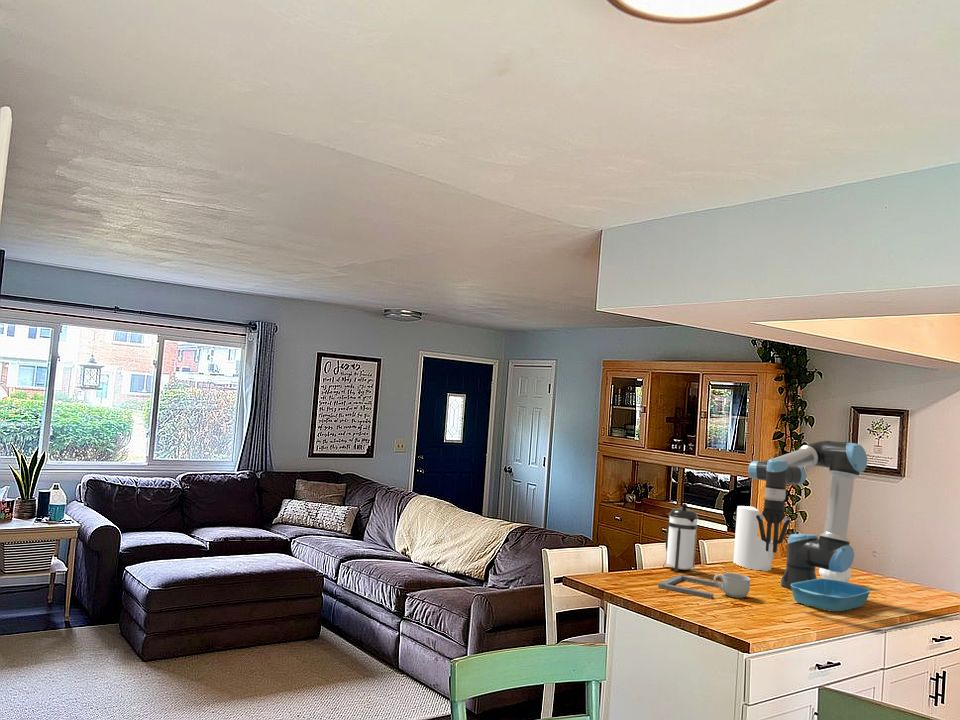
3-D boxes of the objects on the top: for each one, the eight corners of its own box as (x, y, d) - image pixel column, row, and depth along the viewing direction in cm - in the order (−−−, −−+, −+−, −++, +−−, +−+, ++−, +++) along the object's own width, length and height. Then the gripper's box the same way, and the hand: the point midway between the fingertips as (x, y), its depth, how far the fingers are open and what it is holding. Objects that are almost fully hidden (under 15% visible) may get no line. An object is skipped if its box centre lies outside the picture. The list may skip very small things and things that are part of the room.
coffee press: (701, 570, 356) (706, 504, 357) (690, 575, 342) (695, 506, 344) (664, 563, 365) (669, 499, 367) (652, 568, 351) (657, 501, 353)
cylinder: (736, 568, 370) (740, 508, 372) (730, 561, 387) (734, 504, 389) (774, 572, 368) (778, 512, 369) (767, 565, 385) (770, 508, 386)
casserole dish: (837, 617, 290) (838, 597, 290) (780, 602, 306) (781, 583, 307) (877, 607, 314) (878, 589, 314) (822, 593, 331) (823, 576, 331)
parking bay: (729, 588, 323) (729, 584, 323) (711, 598, 300) (711, 594, 300) (678, 578, 334) (679, 574, 334) (658, 587, 312) (658, 583, 312)
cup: (818, 582, 352) (820, 551, 353) (818, 577, 365) (819, 547, 366) (851, 588, 347) (853, 556, 348) (849, 582, 360) (851, 552, 360)
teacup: (749, 595, 312) (750, 575, 313) (749, 601, 302) (750, 580, 302) (713, 590, 317) (714, 570, 317) (711, 595, 307) (713, 574, 307)
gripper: (755, 497, 304) (750, 558, 303) (790, 502, 297) (786, 564, 296) (759, 496, 311) (755, 556, 309) (794, 501, 304) (790, 562, 302)
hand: (770, 560), depth 303 cm, fingers closed
